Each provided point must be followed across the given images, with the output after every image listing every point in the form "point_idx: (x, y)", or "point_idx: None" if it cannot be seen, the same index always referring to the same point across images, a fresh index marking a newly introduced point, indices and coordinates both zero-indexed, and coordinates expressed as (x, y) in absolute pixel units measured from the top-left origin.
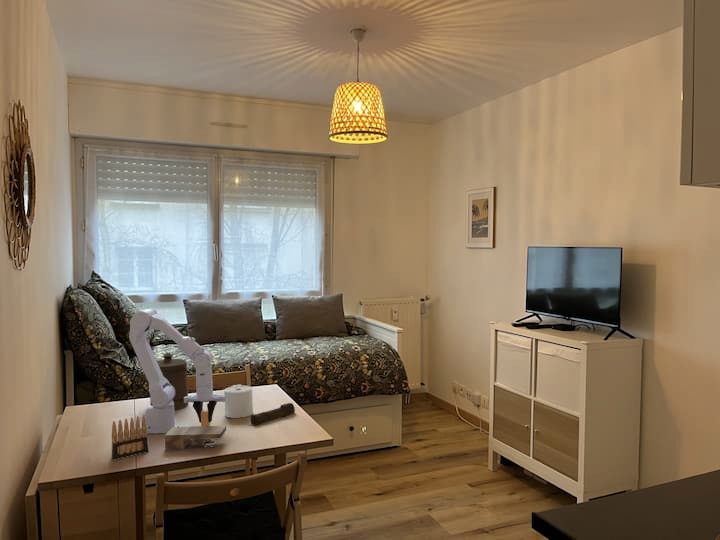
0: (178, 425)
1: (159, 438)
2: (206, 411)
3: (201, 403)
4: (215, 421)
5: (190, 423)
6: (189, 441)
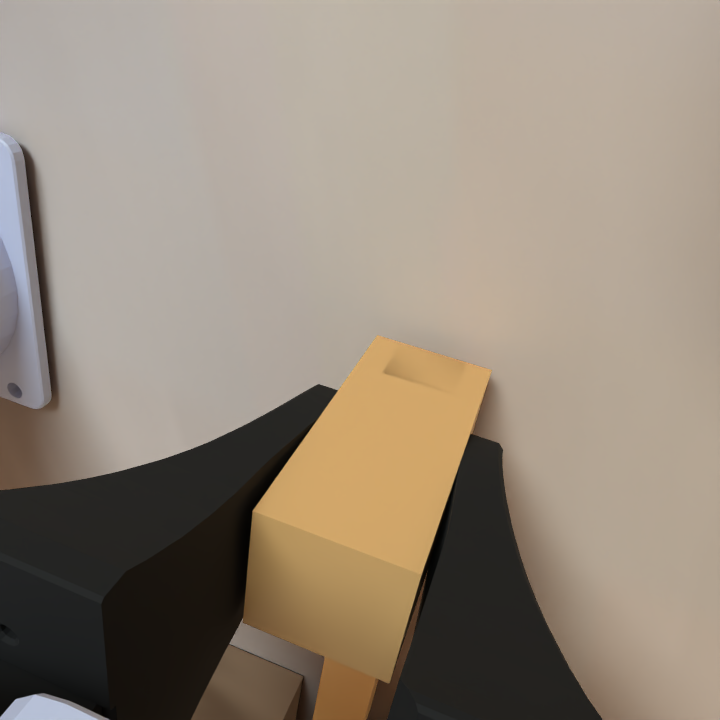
0: (19, 164)
1: (3, 483)
2: (356, 655)
3: (143, 672)
4: (607, 36)
5: (151, 38)
6: (292, 715)
